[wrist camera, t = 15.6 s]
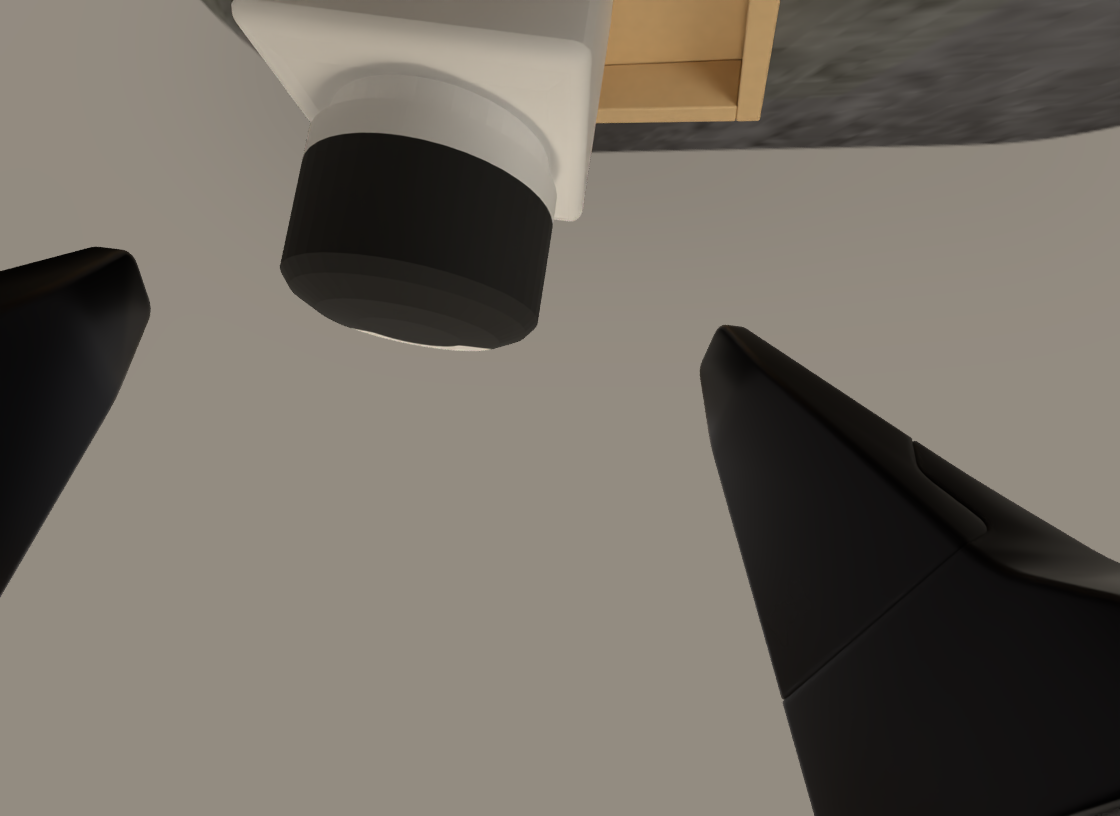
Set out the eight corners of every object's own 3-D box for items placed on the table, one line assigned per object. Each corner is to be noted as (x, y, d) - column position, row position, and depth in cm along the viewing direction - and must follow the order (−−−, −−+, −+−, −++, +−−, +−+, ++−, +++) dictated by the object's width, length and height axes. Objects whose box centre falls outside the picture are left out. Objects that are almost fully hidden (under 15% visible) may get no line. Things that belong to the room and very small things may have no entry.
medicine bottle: (293, -304, 11) (161, 257, 10) (640, -266, 11) (552, 312, 10) (398, -6, 18) (329, 345, 17) (611, 21, 18) (558, 378, 17)
